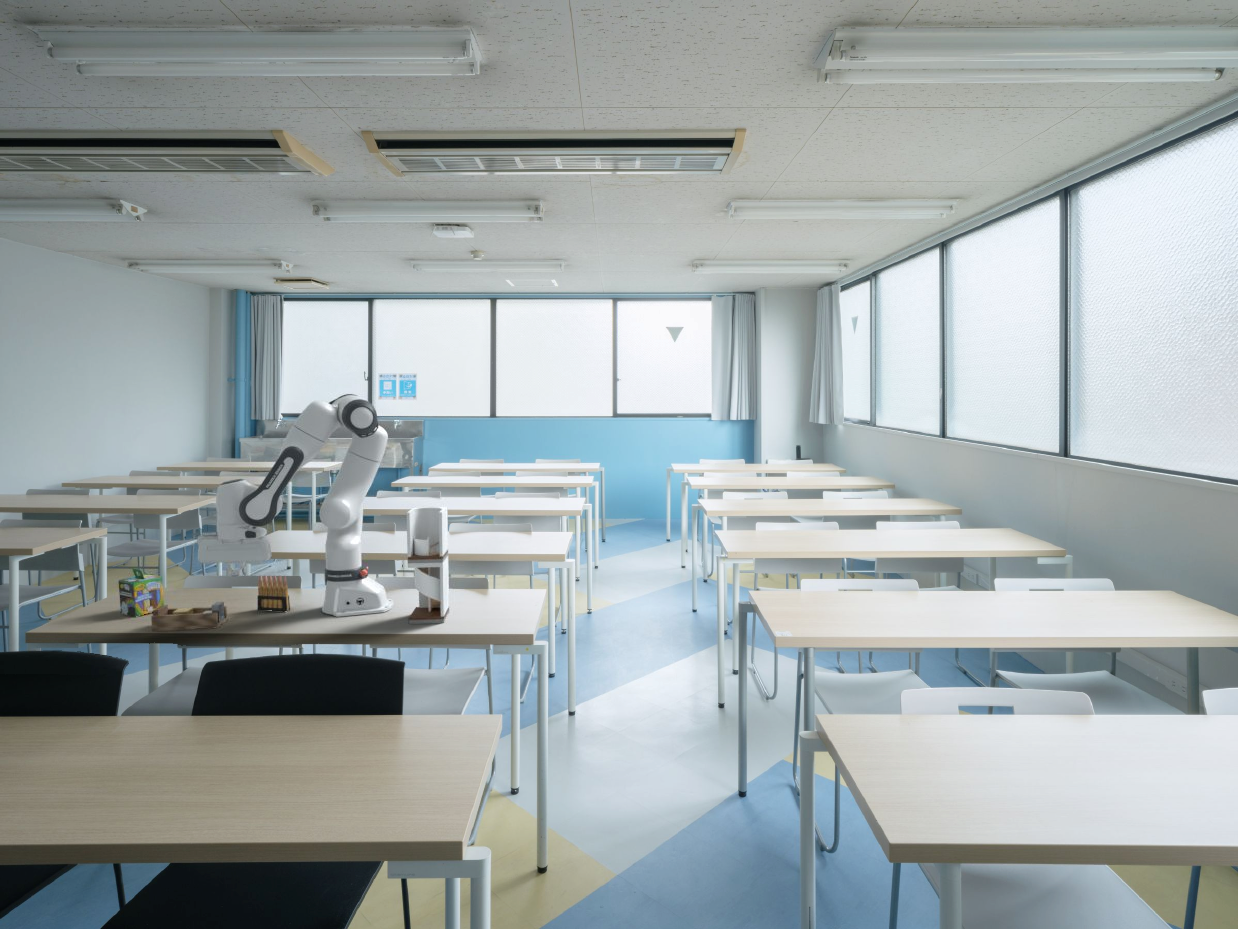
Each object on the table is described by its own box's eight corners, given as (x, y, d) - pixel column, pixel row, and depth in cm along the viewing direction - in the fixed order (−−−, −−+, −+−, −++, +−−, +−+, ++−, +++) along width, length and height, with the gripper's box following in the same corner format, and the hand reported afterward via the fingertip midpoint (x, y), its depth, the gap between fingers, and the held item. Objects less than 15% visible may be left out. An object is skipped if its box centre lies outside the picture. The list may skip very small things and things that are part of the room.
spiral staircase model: (416, 613, 223) (414, 507, 221) (449, 612, 224) (447, 507, 222) (409, 623, 212) (406, 512, 209) (443, 622, 213) (441, 512, 210)
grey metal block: (224, 618, 213) (223, 601, 213) (219, 622, 210) (218, 605, 209) (207, 619, 213) (206, 602, 212) (201, 623, 209) (200, 605, 208)
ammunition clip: (290, 610, 226) (289, 575, 225) (286, 612, 225) (285, 576, 224) (261, 609, 228) (259, 573, 227) (257, 610, 226) (255, 575, 225)
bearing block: (227, 620, 216) (226, 601, 215) (216, 628, 208) (216, 608, 207) (165, 623, 213) (164, 604, 212) (152, 631, 205) (150, 611, 204)
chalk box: (165, 610, 226) (163, 566, 225) (135, 618, 218) (132, 572, 217) (149, 606, 230) (147, 563, 229) (119, 614, 222) (116, 569, 221)
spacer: (187, 624, 208) (187, 611, 208) (173, 624, 207) (172, 612, 207) (193, 620, 212) (193, 607, 212) (179, 620, 211) (179, 608, 211)
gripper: (192, 534, 205) (194, 579, 206) (265, 532, 209) (266, 577, 210) (201, 531, 211) (203, 574, 213) (272, 529, 215) (273, 572, 216)
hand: (235, 575), depth 211 cm, fingers closed
